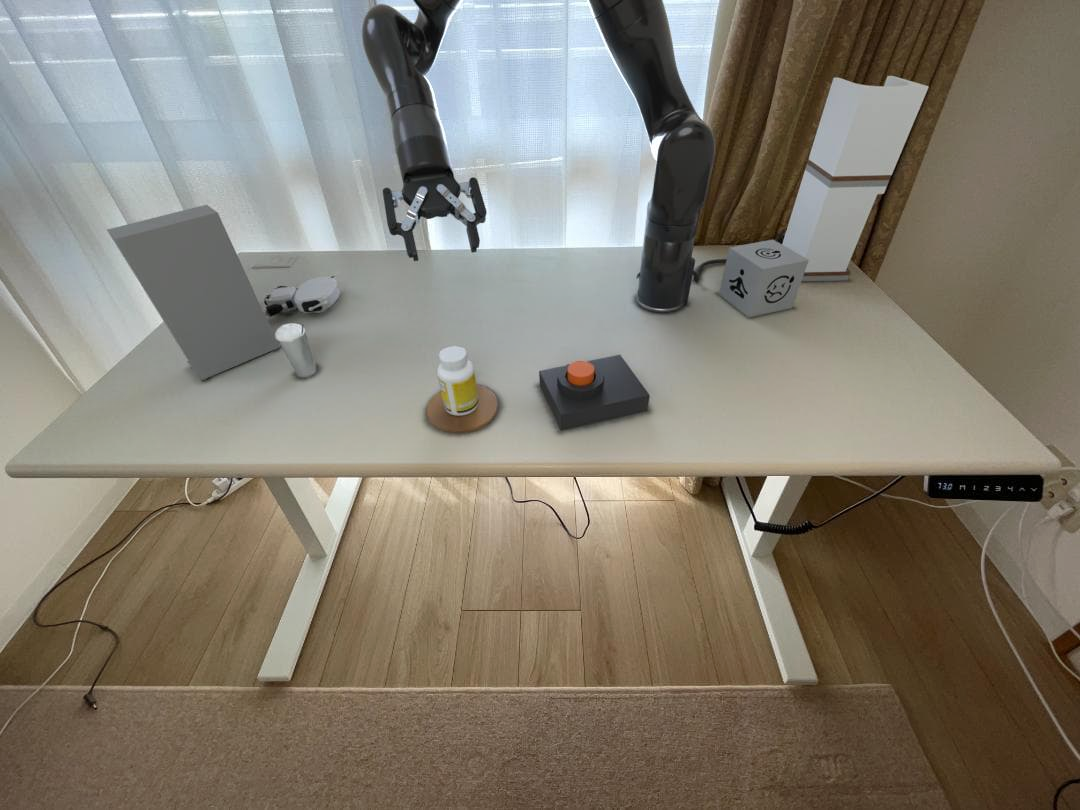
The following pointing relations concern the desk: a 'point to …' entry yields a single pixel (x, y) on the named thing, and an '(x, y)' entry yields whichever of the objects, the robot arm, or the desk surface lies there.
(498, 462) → the desk surface
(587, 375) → the orange button
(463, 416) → the coaster
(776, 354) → the desk surface
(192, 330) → the tall grey upright panel
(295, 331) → the milkshake
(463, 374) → the supplement bottle
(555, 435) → the desk surface
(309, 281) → the robot toy
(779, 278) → the icon cube
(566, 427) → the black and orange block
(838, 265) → the white striped pillar
